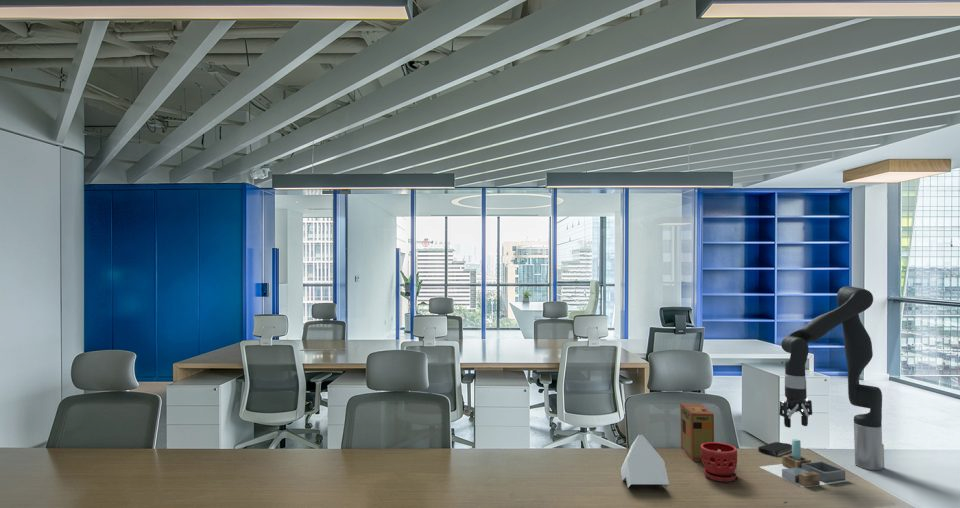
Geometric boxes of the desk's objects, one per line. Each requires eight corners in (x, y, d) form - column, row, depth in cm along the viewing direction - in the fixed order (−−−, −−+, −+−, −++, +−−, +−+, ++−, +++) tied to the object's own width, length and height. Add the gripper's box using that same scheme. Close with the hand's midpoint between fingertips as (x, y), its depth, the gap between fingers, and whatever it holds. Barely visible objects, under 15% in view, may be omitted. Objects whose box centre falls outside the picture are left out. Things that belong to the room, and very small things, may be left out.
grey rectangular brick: (798, 475, 197) (798, 467, 198) (812, 481, 192) (812, 473, 192) (781, 477, 195) (781, 469, 196) (795, 483, 190) (794, 475, 190)
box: (681, 447, 233) (680, 403, 233) (701, 448, 232) (700, 403, 233) (692, 460, 216) (691, 413, 217) (714, 461, 215) (713, 413, 216)
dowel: (796, 466, 207) (795, 438, 207) (803, 468, 204) (802, 441, 204) (790, 466, 206) (789, 439, 206) (797, 469, 203) (796, 441, 203)
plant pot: (737, 474, 202) (736, 443, 202) (738, 486, 190) (737, 454, 190) (701, 468, 207) (700, 439, 208) (700, 480, 195) (700, 449, 196)
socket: (796, 463, 209) (795, 454, 209) (811, 470, 202) (811, 460, 203) (782, 465, 207) (782, 455, 207) (797, 472, 201) (797, 461, 201)
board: (800, 464, 212) (800, 461, 212) (848, 484, 192) (848, 481, 192) (758, 469, 206) (758, 466, 206) (803, 490, 186) (803, 487, 186)
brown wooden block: (814, 482, 191) (813, 471, 191) (819, 484, 188) (819, 473, 189) (799, 484, 189) (799, 473, 189) (804, 486, 187) (804, 475, 187)
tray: (821, 470, 202) (821, 461, 203) (845, 480, 193) (845, 470, 193) (801, 472, 200) (801, 463, 200) (824, 482, 190) (824, 473, 190)
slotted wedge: (660, 492, 193) (650, 444, 204) (669, 484, 184) (658, 434, 195) (624, 492, 193) (616, 444, 204) (631, 484, 184) (622, 434, 195)
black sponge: (775, 460, 217) (775, 451, 217) (756, 454, 224) (756, 446, 225) (795, 453, 226) (795, 445, 226) (776, 447, 233) (776, 439, 233)
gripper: (789, 389, 200) (790, 430, 200) (817, 387, 204) (818, 427, 204) (773, 385, 208) (774, 425, 207) (801, 383, 211) (801, 422, 211)
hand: (796, 426), depth 205 cm, fingers open, 8 cm apart
